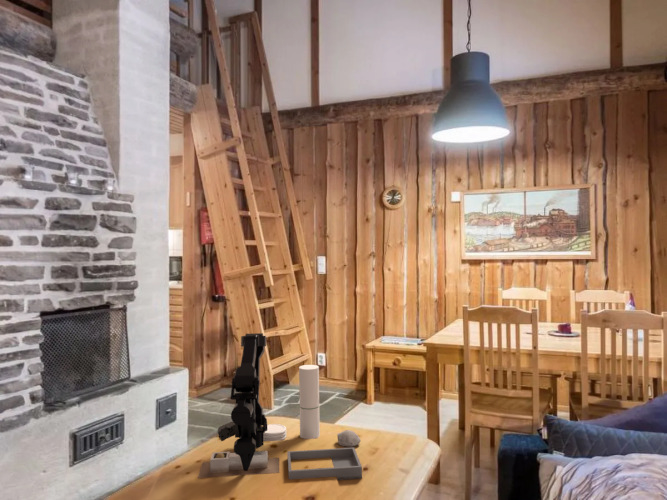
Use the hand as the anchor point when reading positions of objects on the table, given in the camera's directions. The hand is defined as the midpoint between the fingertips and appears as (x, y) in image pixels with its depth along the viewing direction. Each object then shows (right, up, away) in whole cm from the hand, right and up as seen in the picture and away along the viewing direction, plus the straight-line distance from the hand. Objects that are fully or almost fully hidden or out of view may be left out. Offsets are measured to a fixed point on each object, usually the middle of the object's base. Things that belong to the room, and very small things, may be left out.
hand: (246, 464), depth 159 cm
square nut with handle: (-2, -1, 0) cm, 2 cm away
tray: (+24, -2, 0) cm, 24 cm away
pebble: (+32, -2, +20) cm, 38 cm away
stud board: (-2, -2, 0) cm, 3 cm away
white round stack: (+5, -2, +27) cm, 28 cm away
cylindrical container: (+18, -2, +29) cm, 34 cm away
